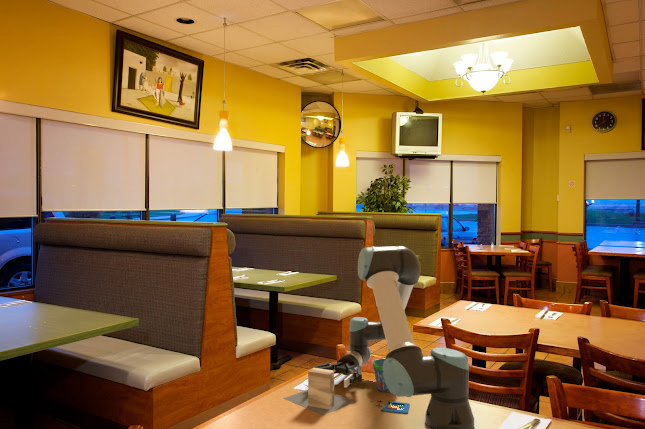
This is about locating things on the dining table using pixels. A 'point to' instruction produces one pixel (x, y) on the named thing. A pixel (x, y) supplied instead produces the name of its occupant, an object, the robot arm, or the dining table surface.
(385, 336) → the robot arm
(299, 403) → the mat
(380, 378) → the snack cup
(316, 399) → the birch board
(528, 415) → the dining table surface
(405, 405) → the handheld gaming device
